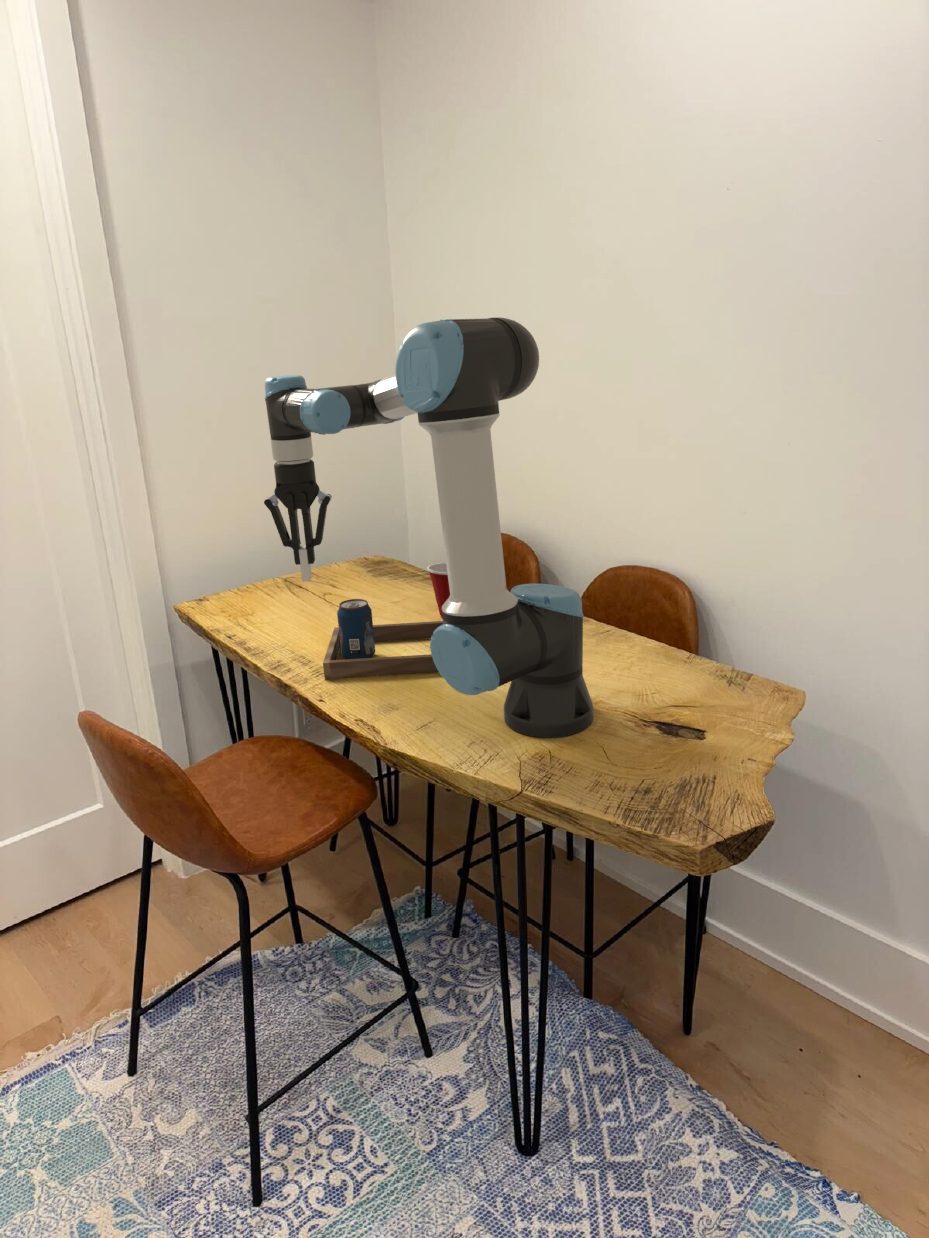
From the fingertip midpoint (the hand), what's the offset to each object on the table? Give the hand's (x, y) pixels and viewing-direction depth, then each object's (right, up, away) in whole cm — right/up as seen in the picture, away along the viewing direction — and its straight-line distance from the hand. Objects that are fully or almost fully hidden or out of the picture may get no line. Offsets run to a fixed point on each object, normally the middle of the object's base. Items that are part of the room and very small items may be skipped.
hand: (307, 579), depth 166 cm
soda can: (+10, -16, +6) cm, 20 cm away
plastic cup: (+29, -7, +28) cm, 41 cm away
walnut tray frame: (+16, -16, +6) cm, 23 cm away
